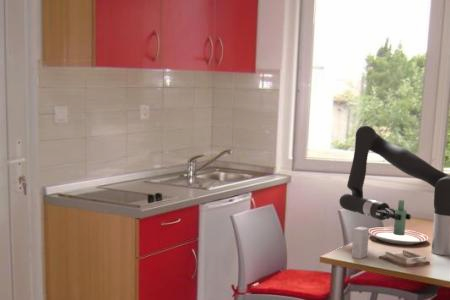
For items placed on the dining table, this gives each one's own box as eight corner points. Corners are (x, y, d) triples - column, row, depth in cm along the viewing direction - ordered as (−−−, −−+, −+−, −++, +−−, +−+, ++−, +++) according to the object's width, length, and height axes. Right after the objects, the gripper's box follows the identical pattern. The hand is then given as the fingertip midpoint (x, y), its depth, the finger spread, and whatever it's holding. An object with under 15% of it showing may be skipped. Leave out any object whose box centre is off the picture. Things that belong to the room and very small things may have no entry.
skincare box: (358, 254, 251) (359, 226, 250) (367, 256, 248) (369, 227, 247) (351, 256, 246) (353, 228, 245) (360, 258, 243) (362, 230, 242)
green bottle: (399, 232, 248) (401, 199, 247) (406, 235, 244) (409, 201, 243) (391, 233, 246) (393, 199, 245) (398, 235, 242) (401, 201, 241)
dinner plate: (420, 235, 294) (421, 228, 294) (434, 249, 267) (435, 241, 266) (363, 232, 296) (364, 225, 296) (372, 245, 269) (372, 238, 269)
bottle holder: (403, 255, 252) (404, 248, 252) (429, 264, 240) (430, 256, 240) (378, 258, 246) (379, 251, 245) (404, 267, 233) (404, 259, 233)
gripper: (363, 201, 253) (392, 209, 238) (389, 200, 260) (418, 207, 245) (362, 219, 254) (391, 227, 239) (387, 217, 261) (417, 225, 246)
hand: (405, 217), depth 242 cm, fingers closed on green bottle, 4 cm apart
